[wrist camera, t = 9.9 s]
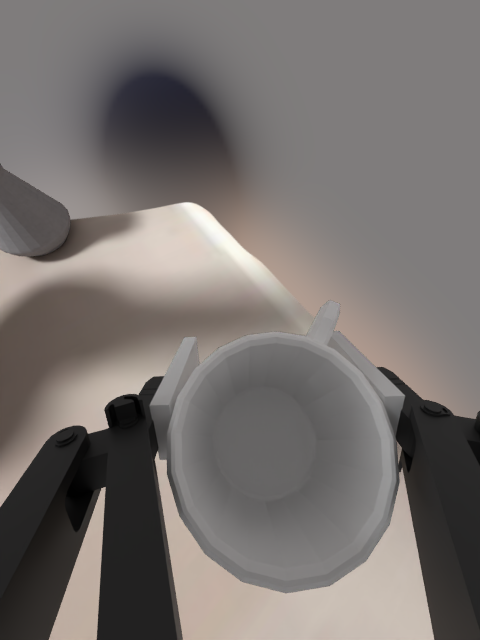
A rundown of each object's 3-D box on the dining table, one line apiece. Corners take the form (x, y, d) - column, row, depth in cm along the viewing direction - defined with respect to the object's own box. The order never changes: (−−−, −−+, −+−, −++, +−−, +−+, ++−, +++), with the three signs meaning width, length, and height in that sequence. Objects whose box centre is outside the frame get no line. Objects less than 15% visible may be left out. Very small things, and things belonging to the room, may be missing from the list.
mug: (354, 367, 20) (442, 306, 11) (293, 538, 15) (359, 673, 6) (262, 323, 22) (273, 241, 13) (184, 465, 17) (116, 491, 8)
